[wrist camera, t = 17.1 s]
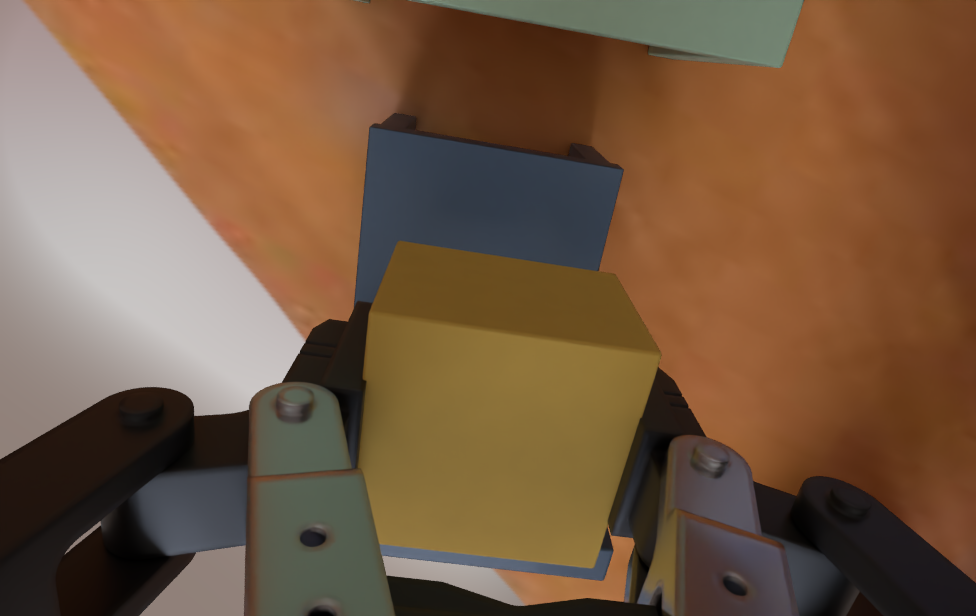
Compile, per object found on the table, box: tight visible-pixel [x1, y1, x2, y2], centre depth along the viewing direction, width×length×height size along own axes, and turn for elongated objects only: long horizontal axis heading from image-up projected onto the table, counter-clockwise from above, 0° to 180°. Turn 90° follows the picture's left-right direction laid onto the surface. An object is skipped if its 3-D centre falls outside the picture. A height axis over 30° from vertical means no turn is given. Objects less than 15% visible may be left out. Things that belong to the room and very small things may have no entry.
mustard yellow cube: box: [358, 241, 662, 568], centre depth 12 cm, size 5×5×4 cm
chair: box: [354, 113, 624, 581], centre depth 22 cm, size 10×9×15 cm
